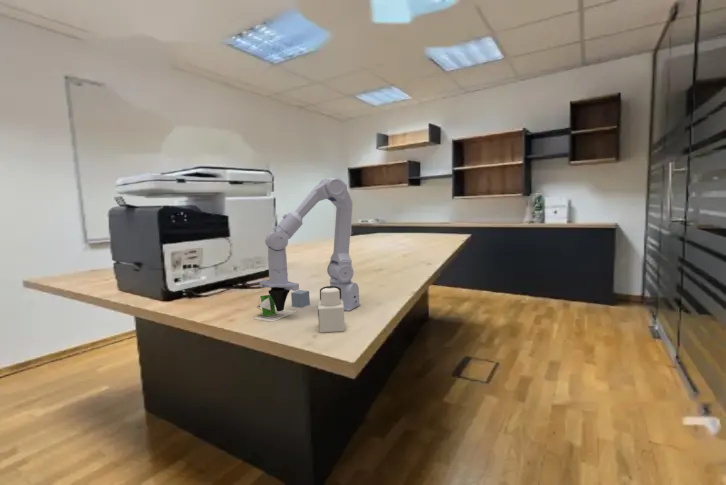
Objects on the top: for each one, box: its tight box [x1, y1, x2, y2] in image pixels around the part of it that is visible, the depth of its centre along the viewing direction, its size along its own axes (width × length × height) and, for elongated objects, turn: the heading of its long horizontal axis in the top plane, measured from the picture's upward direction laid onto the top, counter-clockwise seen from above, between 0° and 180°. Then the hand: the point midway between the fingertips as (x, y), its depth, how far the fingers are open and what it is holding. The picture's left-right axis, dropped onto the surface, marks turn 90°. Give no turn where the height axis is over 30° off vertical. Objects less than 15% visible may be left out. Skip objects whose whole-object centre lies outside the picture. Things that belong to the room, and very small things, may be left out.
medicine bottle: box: [317, 285, 346, 334], centre depth 105 cm, size 7×7×12 cm
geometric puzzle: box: [257, 294, 276, 316], centre depth 120 cm, size 7×7×8 cm
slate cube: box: [290, 289, 311, 309], centre depth 130 cm, size 4×4×5 cm
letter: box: [253, 308, 298, 323], centre depth 120 cm, size 8×12×1 cm, turn 152°
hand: (280, 310), depth 118 cm, fingers closed
